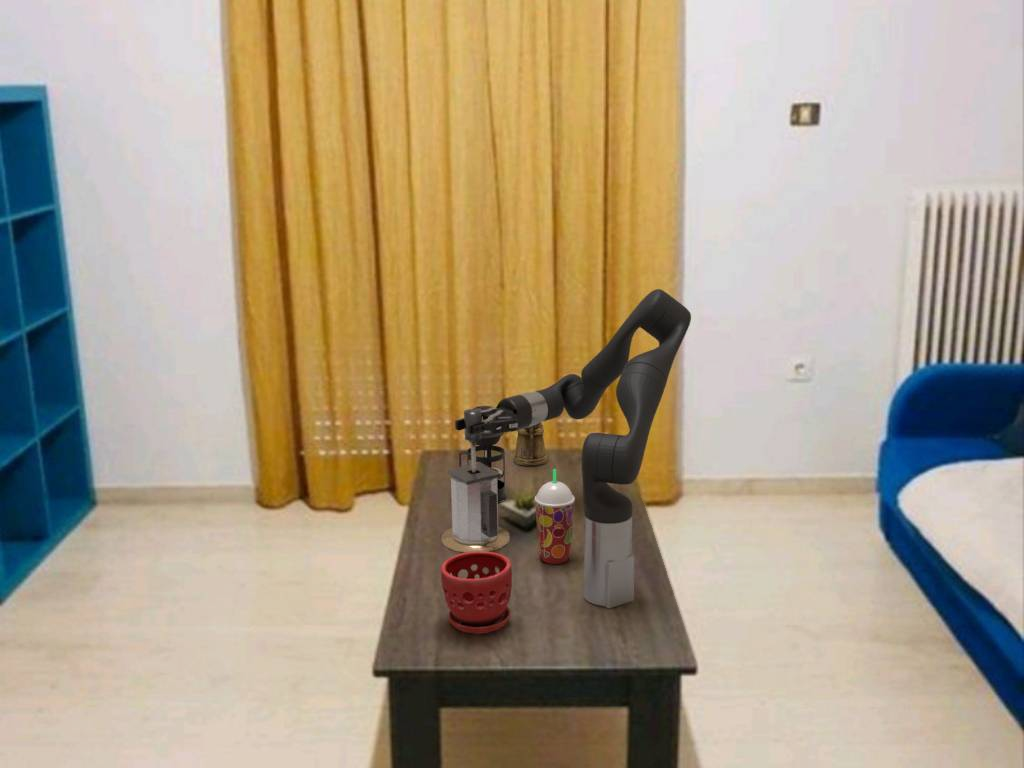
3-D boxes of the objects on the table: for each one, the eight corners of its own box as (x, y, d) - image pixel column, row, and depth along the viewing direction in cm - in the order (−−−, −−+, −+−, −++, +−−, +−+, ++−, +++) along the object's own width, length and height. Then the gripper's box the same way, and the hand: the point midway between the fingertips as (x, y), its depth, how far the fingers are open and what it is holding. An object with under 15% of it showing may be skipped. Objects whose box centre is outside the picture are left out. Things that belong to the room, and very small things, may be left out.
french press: (510, 490, 271) (508, 401, 265) (507, 505, 262) (506, 413, 256) (462, 490, 272) (460, 401, 265) (458, 504, 263) (455, 412, 256)
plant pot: (507, 603, 214) (506, 546, 211) (517, 636, 201) (516, 576, 198) (440, 608, 212) (438, 551, 209) (445, 642, 200) (443, 582, 196)
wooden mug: (513, 473, 283) (512, 406, 278) (513, 455, 296) (512, 391, 291) (548, 472, 283) (547, 405, 278) (546, 455, 296) (546, 390, 291)
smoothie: (547, 547, 239) (546, 460, 233) (581, 555, 235) (581, 466, 229) (527, 561, 232) (526, 472, 226) (562, 570, 228) (562, 479, 222)
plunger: (498, 511, 240) (496, 413, 234) (468, 519, 237) (465, 419, 230) (481, 500, 247) (479, 404, 240) (451, 507, 243) (448, 410, 237)
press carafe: (523, 543, 241) (522, 475, 236) (463, 559, 233) (461, 490, 229) (487, 520, 253) (486, 455, 249) (429, 535, 246) (427, 468, 242)
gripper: (501, 388, 249) (441, 404, 238) (544, 401, 239) (483, 418, 228) (501, 420, 251) (442, 437, 240) (544, 434, 241) (484, 452, 230)
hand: (462, 427), depth 234 cm, fingers closed on plunger, 3 cm apart
